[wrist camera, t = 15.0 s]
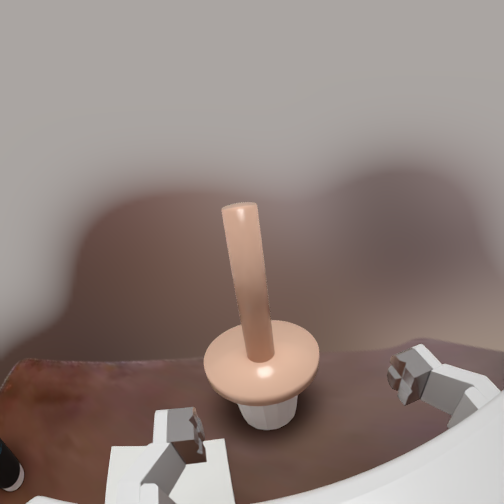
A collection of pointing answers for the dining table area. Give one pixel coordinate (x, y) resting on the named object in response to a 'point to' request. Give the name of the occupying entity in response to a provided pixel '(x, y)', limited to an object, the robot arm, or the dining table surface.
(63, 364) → the dining table surface
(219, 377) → the peg on round base
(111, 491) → the mat
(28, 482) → the dining table surface
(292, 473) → the dining table surface
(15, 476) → the dixie cup
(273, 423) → the white round tub
